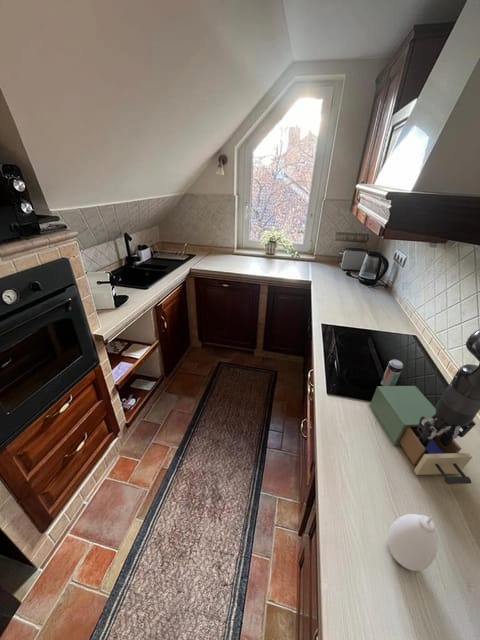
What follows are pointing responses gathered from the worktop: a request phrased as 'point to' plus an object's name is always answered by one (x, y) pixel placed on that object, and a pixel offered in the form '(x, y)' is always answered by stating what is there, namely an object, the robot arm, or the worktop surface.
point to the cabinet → (400, 409)
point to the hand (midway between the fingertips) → (433, 443)
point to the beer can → (392, 373)
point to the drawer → (435, 457)
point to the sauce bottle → (413, 541)
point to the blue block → (432, 448)
